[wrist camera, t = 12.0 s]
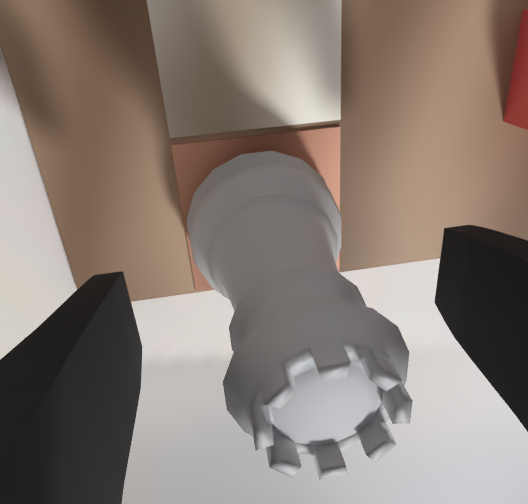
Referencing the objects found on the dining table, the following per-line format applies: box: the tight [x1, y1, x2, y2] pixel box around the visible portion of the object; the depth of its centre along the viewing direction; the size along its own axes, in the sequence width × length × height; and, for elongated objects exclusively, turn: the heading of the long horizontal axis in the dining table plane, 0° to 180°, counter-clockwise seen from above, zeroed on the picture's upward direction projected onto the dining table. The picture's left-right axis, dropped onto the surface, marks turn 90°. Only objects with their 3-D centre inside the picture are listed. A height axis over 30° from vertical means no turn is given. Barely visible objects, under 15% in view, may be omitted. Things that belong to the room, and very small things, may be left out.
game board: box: [0, 0, 528, 301], centre depth 13 cm, size 18×10×1 cm, turn 94°
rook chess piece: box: [186, 151, 412, 480], centre depth 11 cm, size 4×4×8 cm
